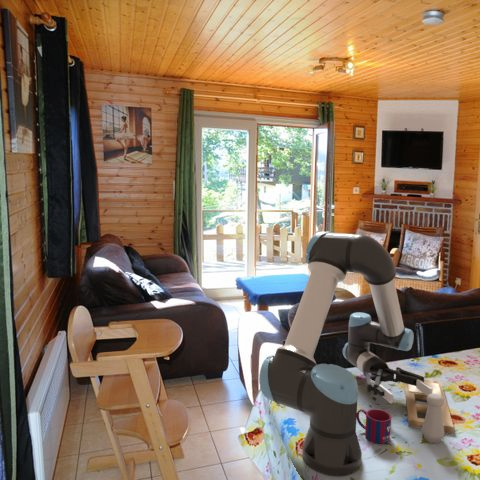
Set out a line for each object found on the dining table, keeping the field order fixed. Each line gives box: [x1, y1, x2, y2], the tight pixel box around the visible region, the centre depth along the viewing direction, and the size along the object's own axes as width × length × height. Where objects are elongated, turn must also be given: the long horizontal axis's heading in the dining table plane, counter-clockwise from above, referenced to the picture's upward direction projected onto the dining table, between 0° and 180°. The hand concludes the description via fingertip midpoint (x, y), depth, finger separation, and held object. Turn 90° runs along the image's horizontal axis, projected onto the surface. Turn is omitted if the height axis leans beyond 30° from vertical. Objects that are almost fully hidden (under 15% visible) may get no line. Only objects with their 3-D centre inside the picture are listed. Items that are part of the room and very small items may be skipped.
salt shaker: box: [421, 393, 445, 444], centre depth 124 cm, size 6×6×13 cm
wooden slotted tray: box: [403, 379, 455, 434], centre depth 143 cm, size 12×30×2 cm, turn 162°
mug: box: [356, 408, 392, 445], centre depth 126 cm, size 7×10×7 cm
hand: (412, 396), depth 133 cm, fingers open, 13 cm apart
